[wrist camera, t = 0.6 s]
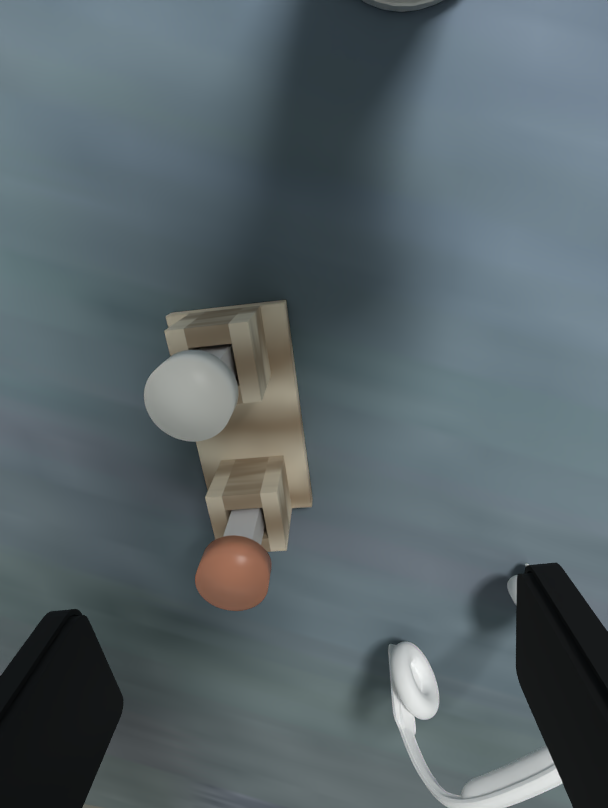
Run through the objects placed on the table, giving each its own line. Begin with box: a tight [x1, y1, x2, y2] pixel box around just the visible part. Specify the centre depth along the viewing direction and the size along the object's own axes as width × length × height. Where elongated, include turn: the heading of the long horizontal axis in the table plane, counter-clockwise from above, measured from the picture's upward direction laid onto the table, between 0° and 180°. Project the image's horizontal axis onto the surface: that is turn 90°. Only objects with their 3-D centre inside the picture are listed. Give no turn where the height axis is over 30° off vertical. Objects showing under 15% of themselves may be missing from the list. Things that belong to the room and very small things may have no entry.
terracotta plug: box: [195, 508, 271, 611], centre depth 35 cm, size 5×5×8 cm
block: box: [164, 300, 312, 552], centre depth 38 cm, size 20×10×8 cm, turn 7°
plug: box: [144, 344, 238, 442], centre depth 29 cm, size 5×5×8 cm
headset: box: [388, 563, 562, 808], centre depth 41 cm, size 20×7×18 cm, turn 133°
